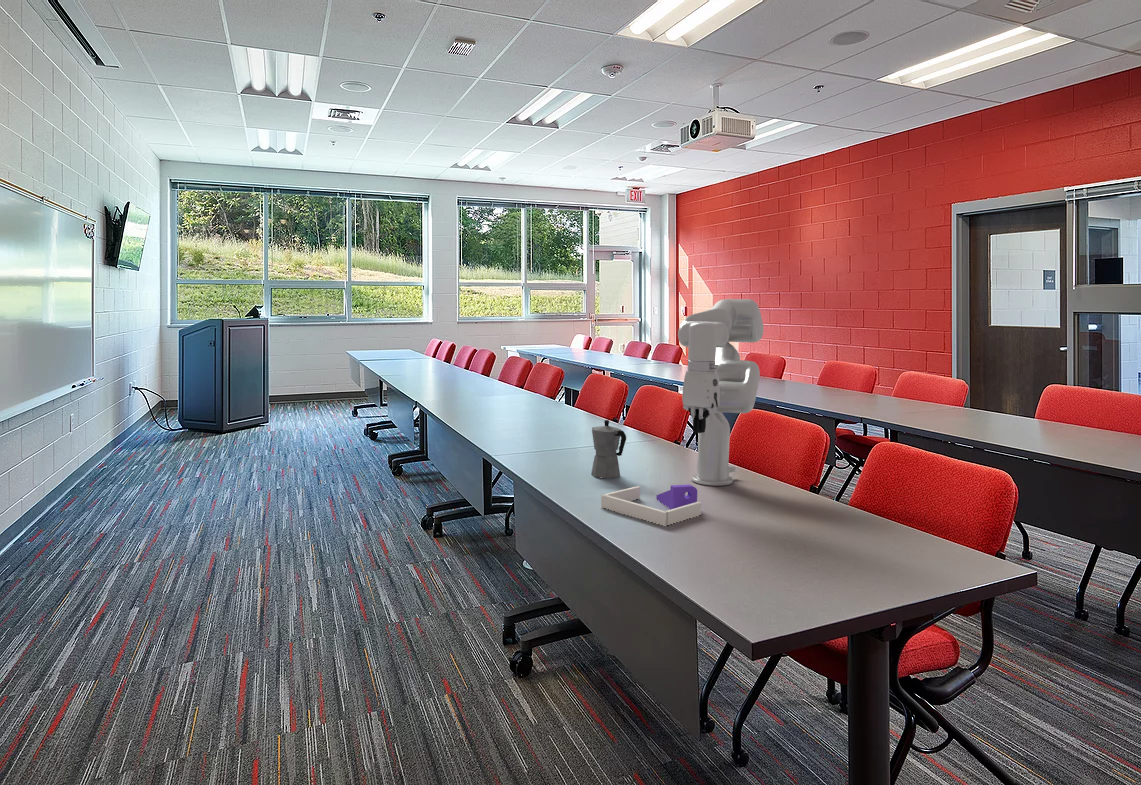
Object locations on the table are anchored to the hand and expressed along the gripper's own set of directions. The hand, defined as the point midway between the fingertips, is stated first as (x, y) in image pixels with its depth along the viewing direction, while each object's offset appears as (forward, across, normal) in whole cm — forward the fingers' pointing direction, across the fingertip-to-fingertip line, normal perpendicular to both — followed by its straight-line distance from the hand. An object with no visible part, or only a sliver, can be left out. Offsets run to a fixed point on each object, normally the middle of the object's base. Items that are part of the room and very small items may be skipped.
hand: (699, 432), depth 197 cm
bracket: (+20, 0, +10) cm, 22 cm away
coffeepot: (+19, +35, 0) cm, 40 cm away
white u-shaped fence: (+19, 0, +20) cm, 28 cm away
